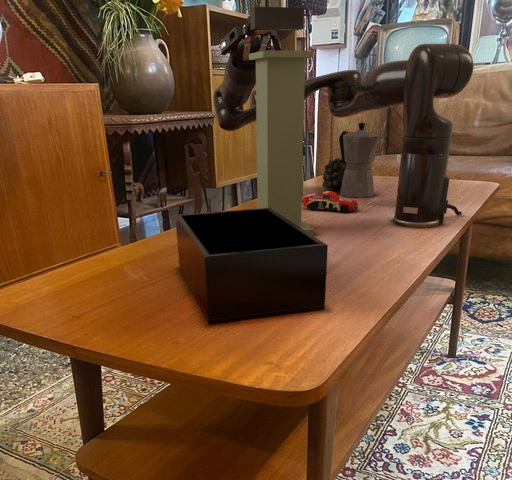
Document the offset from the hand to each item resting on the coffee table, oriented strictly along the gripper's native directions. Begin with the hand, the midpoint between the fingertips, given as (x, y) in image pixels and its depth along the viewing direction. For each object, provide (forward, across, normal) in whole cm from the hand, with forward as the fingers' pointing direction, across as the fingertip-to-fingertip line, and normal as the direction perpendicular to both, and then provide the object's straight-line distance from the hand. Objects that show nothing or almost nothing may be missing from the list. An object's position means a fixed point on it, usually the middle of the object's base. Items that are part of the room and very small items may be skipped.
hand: (262, 17), depth 98 cm
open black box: (+16, +15, -53) cm, 58 cm away
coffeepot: (-37, -32, -23) cm, 54 cm away
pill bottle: (-34, -13, -25) cm, 44 cm away
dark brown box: (+1, 0, -4) cm, 4 cm away
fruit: (-43, -29, -20) cm, 55 cm away
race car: (-23, -18, -31) cm, 43 cm away
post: (-10, 0, -39) cm, 40 cm away
